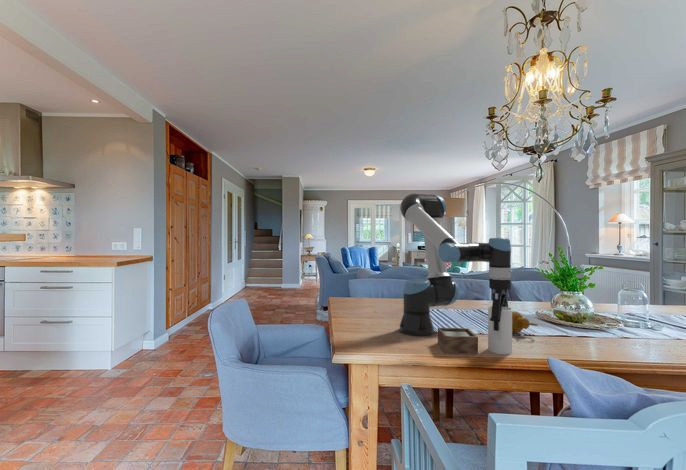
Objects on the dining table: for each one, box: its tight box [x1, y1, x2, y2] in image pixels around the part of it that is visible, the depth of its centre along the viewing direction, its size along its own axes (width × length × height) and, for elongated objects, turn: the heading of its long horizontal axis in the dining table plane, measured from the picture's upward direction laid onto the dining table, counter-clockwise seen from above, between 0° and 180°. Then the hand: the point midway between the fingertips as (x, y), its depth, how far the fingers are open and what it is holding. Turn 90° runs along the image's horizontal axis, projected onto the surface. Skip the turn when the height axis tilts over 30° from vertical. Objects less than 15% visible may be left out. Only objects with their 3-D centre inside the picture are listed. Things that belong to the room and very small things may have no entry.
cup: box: [487, 305, 513, 355], centre depth 128 cm, size 8×8×16 cm
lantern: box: [512, 311, 539, 334], centre depth 154 cm, size 9×9×25 cm
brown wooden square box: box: [437, 327, 479, 355], centre depth 130 cm, size 12×12×6 cm
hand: (500, 335), depth 128 cm, fingers open, 13 cm apart
